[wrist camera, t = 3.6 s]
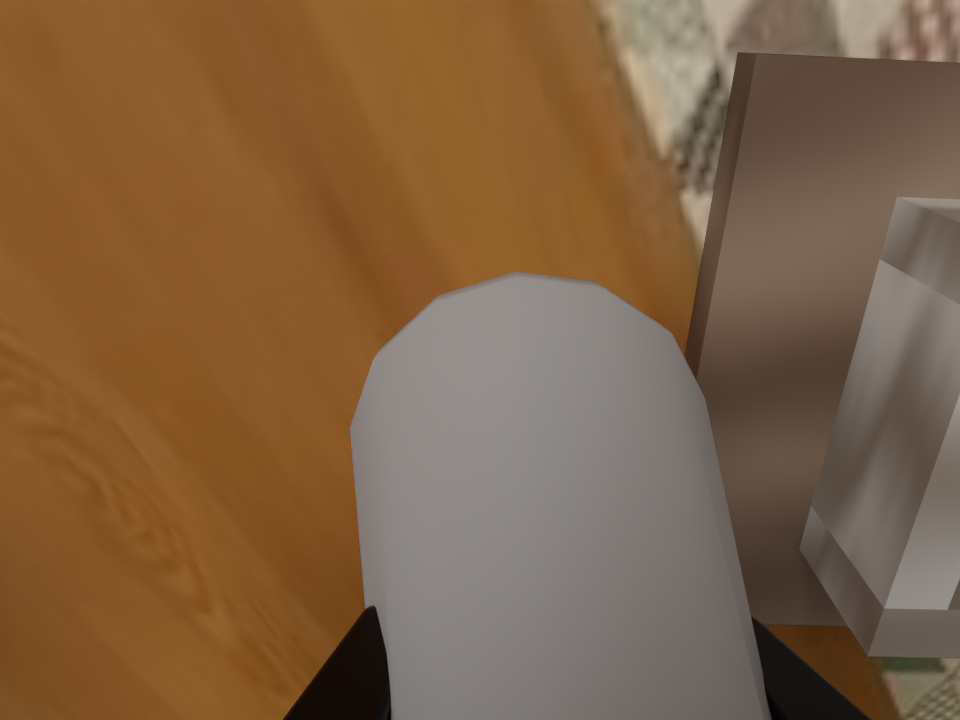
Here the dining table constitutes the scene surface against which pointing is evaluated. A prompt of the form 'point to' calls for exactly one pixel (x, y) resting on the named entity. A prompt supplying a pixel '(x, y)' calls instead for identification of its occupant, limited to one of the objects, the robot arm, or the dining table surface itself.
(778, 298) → the socket board
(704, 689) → the salt shaker
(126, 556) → the dining table surface
